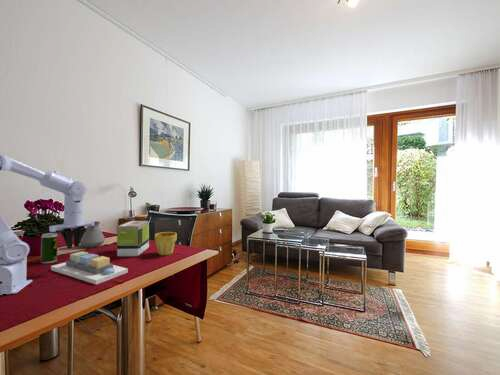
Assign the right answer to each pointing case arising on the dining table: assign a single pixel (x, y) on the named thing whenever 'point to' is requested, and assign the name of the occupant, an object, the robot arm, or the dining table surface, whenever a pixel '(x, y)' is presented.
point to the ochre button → (99, 262)
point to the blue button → (87, 259)
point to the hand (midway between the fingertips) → (72, 247)
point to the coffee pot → (92, 236)
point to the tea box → (132, 238)
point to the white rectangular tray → (89, 271)
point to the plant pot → (165, 242)
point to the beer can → (49, 248)
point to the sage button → (77, 256)
